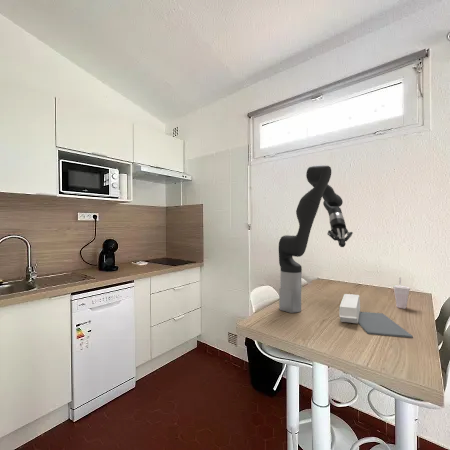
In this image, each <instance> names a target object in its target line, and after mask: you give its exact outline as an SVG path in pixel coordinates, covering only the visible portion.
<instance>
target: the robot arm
mask: <svg viewBox="0 0 450 450" xmlns="http://www.w3.org/2000/svg"><path fill="white" fill-rule="evenodd" d="M305 176H306V180H307V182H308V183H309V184H310V185H311V186H312V187H313V188H312V189H310V190H308V192H307V193H305V194H304V195H302V197H301V198H300V200H299V202H298V205H297V207H296V210H295V213H296V218H297V221H298V224H299V226H298V230H297V233H296V235H288V234H286V235H285V234H284V235H283V236H281V237H280V239H279V241H278V265H279V267H280V273H279V274H280V276H279V277H280V282H279V284H280V285H279V287H280V288H279V290H278V291H279V295H278V296H279V299H278V305H279V306H278V307H279V308H278V309H279V310H280V311H283V312H287V313H289V314H294V313H300V312H301V311H302V272H303V269H302V268H303V267H302V265H301V264H300V263H298V262H296V261H295V260H294V258H293V257H297V258H299V257H302V256H304V254H305V252H306V249H307V246H308V242H309V238H310V233H311V230H312V226H313V224H314V221H315V219H316V216H317V213H318V210H319V207H320V204H321V201H322V199H323V202H322V203H323V206H324V208H325V210H326V211H327V213H328V218H329V224H330V229H329V230H327V236H328V237H329V238H331V239H332V240H333V241H337V243H338V246H339V247H340V248H344V247H345V246H346V242H348V240H349V239H350V238H351V237H352V235H353V234H354V233H353V231H349V230H348V228H347V226H346V225H347V224H346V221H345V217H344V215H343V213H342V208H341V206H343V203H344V202H343V199H342V197H341V196H340V195H339V194H337V193H336V192H335V190H334V188H333V187H332V186H331V185H330V184H329V182H330V179H331V177H332V168H331V166H330V165H328V164H323V165H322V164H321V165H311V166H309V167H308V168H307V169H306V175H305Z"/></svg>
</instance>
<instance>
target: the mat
mask: <svg viewBox="0 0 450 450" xmlns="http://www.w3.org/2000/svg"><path fill="white" fill-rule="evenodd" d="M357 324H358V325H359V326H360V328H362V330H363V331H364V332H365V333H366V334H367V335H373V336H376V335H377V336H384V337H385V336H386V337H387V336H389V337H396V338H397V337H399V338H409V339H410V338H411V339H412V338H414V337H413V335H412V334H411V333H409V332H408V331H407V330H406V329H404V328H403V327H401V326H400V325H399V324H398V323H396V322H395V321H393V319H392V318H390V317H388V316H387V315H386V314H384V313H382V312H371V311H369V312H368V311H360V313H359V319H358V323H357Z"/></svg>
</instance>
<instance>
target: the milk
mask: <svg viewBox="0 0 450 450" xmlns="http://www.w3.org/2000/svg"><path fill="white" fill-rule="evenodd" d="M338 308H339V311H338V312H339V319H340V320H339V321H340V322H341V323H342V322H343V323H349V324H351V323H352V324H358V319H359V313H360V312H361V299H360V294H354V293H353V294H352V293H344V294H343V297H342V300H341V302H340V305H339V307H338Z"/></svg>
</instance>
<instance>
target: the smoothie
mask: <svg viewBox="0 0 450 450" xmlns="http://www.w3.org/2000/svg"><path fill="white" fill-rule="evenodd" d="M398 279H399V281H398V282H399V284H395V285H393V286H392V287H393V290H394V292H393V293H394V297H395V305H396V308H398V309H404V310H405V309H407V306H408V299H409V292H410V291H411V287H409V286H407V285H402V277H401V276H400V277H399V278H398Z"/></svg>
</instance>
